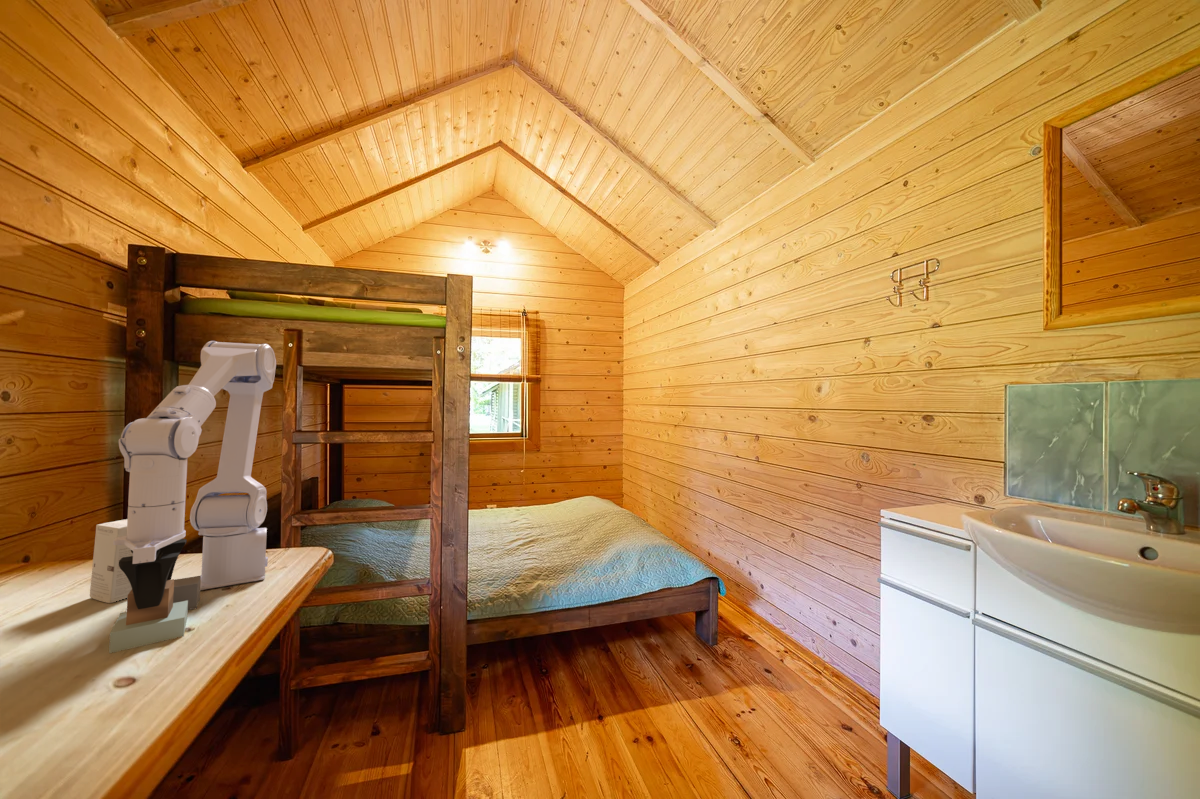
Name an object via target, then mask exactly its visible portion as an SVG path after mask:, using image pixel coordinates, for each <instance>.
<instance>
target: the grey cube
mask: <svg viewBox="0 0 1200 799" xmlns="http://www.w3.org/2000/svg"><path fill="white" fill-rule="evenodd" d="M200 584H201V575H196V576H189V577H182V578H176V579H174V594H173V603H177V602H182V601H187V600H188V611H189V610H196V609H197V608H198V606H197V605H199V602H200V599H201V590H200ZM195 608H196V609H195Z"/></svg>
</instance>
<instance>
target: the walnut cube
mask: <svg viewBox="0 0 1200 799" xmlns="http://www.w3.org/2000/svg"><path fill="white" fill-rule="evenodd" d="M174 580H175V579H174V578H173V579H172V578H171V580H167V581H166V586H165V590H164V594H163V597H162V600H161V602H160V604H159V606H155V607H149V608H144V609H138V608H137V606H136V603H135V599H134V595H133V591H132V590H131V591H130V593H129V594H128V598H127V599H126V600H127V602H126V612H127V617H126V625H130V624H135V623H141V622H146V621H151V620H156V619H162V618H167V617H168V616H169V614H170V612H171V610H172V608H173V594H174Z"/></svg>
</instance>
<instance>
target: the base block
mask: <svg viewBox="0 0 1200 799" xmlns="http://www.w3.org/2000/svg"><path fill="white" fill-rule="evenodd" d="M188 611H189V610H188V600H187V601H182V602H177V603H173V608H172V610H171V612H170V614H169V616H168V617H167V618H162V619H156V620H151V621H146V622H141V623H135V624H130V625H126V617H127V611H125V612H120V613H119V615H118V616H117V619H116V621H115V622H114V625H113V627H112V628H111V631H110V632H109V648H108V654H112V652H113V653H116V652H120V651H121V650H122V651H126V650H129V649H134V648H139V647H143V646H147V645H151V644H156V643H160V641H161V642H165V641H169V639H170V640H173V638H174V639H177V637H178V638H181V636H183V637H185V631H186V627H187V621H188ZM164 640H165V641H164ZM125 649H126V650H125Z"/></svg>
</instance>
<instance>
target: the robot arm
mask: <svg viewBox="0 0 1200 799" xmlns="http://www.w3.org/2000/svg"><path fill="white" fill-rule="evenodd" d="M276 368H277V359H276V355H275V351H274V348H272V347H271V345H270V344H268V343H261V344H260V343H257V344H256V343H246V342H245V343H243V342H225V341H223V342H222V341H216V340H210V341H207V342H206V343H205V344H204V345H203V347H202V348H201V350H200V367H199V369H197V371H196V373H195V374H194V376H193V378H192V379H191V380H190V382H189V383H188V384H183V385H178V386H175V387H174V388H173V389H172V390H171V391H170V392H169V393H168V394H167V395H166V396H165V397H164V399H163V400H161V402H160V403H159V404H158V405H157V406H156V407H155V408H154V409H153V410H152V411H151V413H149V415H148V416H147V417H144V418H138V419H135V420H134V421H132V422H131V421H130V422H129V423H128V424H127V425H126V426H125V427H124V428H123V429H122V432H121V435H120V438H119V439H118V447H119V451H120V453H121V456H123V458H124V464H123V467H124V469H125V471H126V472H128V473H129V479H128V480H129V481H128V483H129V484H128V500H127V502H128V506H127V518H126V519H127V536H123V537H117V538H116V539H114V541H113V545H126V546H127V547H128V548H130V549H131V552H132V553H133V556H130V557H123V558H121V559H120V561H119V567H120V569H121V570H122V571H123V572H124V573H125V575H126V576H127V578H128V580H129V582H130V584H131V587H132V591H133V595H134V599H135V603H136V606H137V608H138V609H144V608H149V607H155V606H159V604H160V602H161V600H162V597H163V594H164V590H165V586H166V581H167V580H172V576H173V573H174V569H175V566H176V564H177V561H178V558H179V555H180V554H181V552H182V550H183V548H184V547H185V546H186V544H187V539H186V533H187V531H186V529H185V517H186V514H185V513H186V500H187V499H186V495H187V476H188V458H190V457H191V456H192V455H193V454H195V453H196V451H197V449H198V445H199V440H200V436H201V434H202V431H203V429H202V425H204V423H205V422H206V421H207V419H208V418H209V417H210V415H211V414H212V413H213V411H214V410H215V408H216V407H217V401H216V398H215V396H216V395H217V394H218V393H219V392H220V391H221V390H224V391H226V392H228V394H229V399H228V400H229V402H228V407H227V413H226V419H225V424H224V430H223V436H222V437H223V438H222V443H221V448H220V449H221V450H220V456H219V463H218V467H217V475H216V477H215V478H214V479H213V480H211V481H209V482H207V483H206V484H204V485H203V486H201V487H200V488H199V489H198V491H197V495H196V498H195V501H194V503H193V505H192V506H191V509H190V513H189V521H190V525H191V527H192V528H193V529H194V530H195V531H197V532H198V535H199V536H203V537H202V554H201V555H202V558H201V559H202V560H201V575H200V576H201V584H200V591H203V590H209V589H215V588H221V587H222V588H223V587H227V586H233V585H239V584H247V583H251V582H259V581H262V580H265V576H266V574H265V573H266V567H268V563H269V561H268V558H269V557H268V556H266V554H267V552H266V551H267V536H268V535H267V532H268V531H267V530H268V528H267V527H260V526H261V525H262V524H263V523H264V522H265V519H266V516H267V512H268V501H267V493H268V492H267V487H265V485H263V484H262V483H261V482H259V481H257V480H256V479H255V478H253V477H252V470H253V464H254V457H255V451H256V450H255V448H256V444H257V443H256V442H257V436H258V430H259V429H258V428H259V422H260V415H261V410H262V409H261V408H262V402H263V398H264V397H263V396H264V393H265V392H267V391H269V390H271V389H273V384H274V382H275V378H276V377H275V375H276ZM239 493H240V494H239ZM241 493H242V494H241ZM243 493H247V494H243ZM223 494H224V495H223ZM225 494H228V495H225ZM230 494H231V495H230Z"/></svg>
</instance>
